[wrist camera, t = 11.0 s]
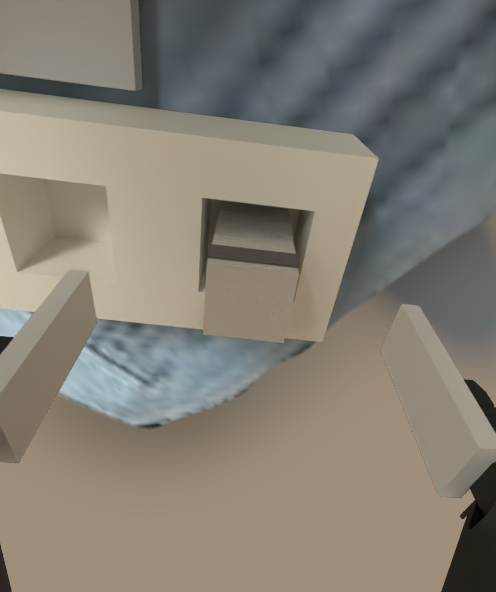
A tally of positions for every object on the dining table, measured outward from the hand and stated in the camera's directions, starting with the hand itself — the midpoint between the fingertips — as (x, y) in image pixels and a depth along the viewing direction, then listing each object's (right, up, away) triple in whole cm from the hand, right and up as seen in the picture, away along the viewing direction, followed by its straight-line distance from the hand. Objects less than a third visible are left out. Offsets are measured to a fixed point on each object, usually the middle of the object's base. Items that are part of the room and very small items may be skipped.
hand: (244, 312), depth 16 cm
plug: (0, +6, +9) cm, 11 cm away
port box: (-5, +7, +10) cm, 13 cm away
